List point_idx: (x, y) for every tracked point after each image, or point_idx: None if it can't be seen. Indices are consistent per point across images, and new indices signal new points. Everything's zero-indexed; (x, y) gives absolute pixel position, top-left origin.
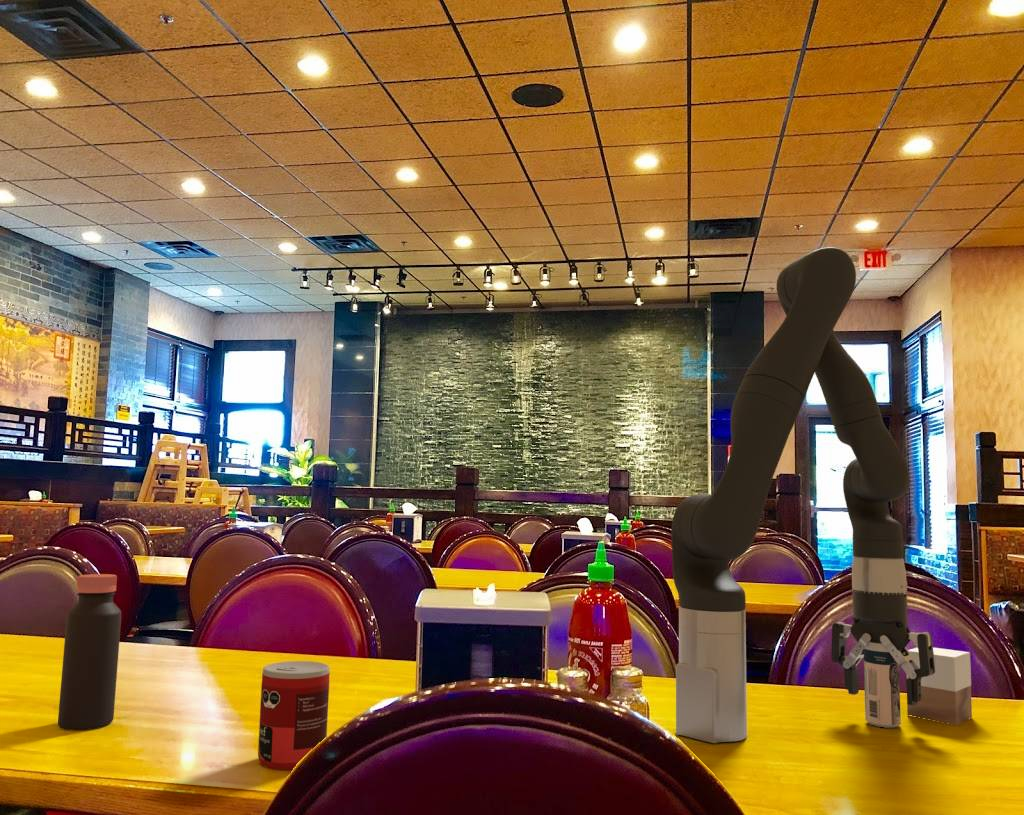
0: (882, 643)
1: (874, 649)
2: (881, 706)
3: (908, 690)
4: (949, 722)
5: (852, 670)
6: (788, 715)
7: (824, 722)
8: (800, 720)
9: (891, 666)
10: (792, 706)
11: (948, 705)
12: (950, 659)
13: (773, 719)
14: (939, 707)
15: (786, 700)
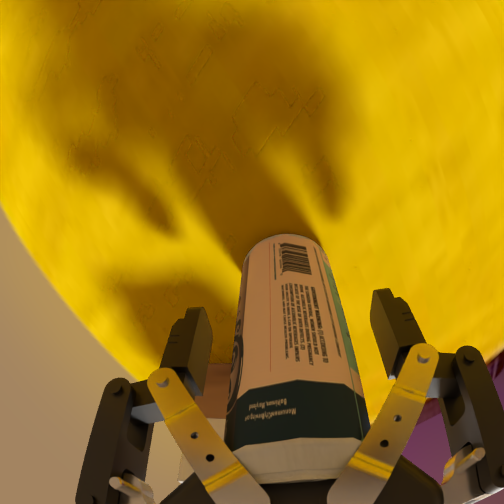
0: (256, 484)
1: (296, 445)
2: (268, 268)
3: (188, 336)
4: (210, 366)
5: (398, 348)
6: (478, 160)
7: (399, 165)
8: (445, 134)
9: (234, 397)
10: (488, 245)
11: (206, 392)
12: (186, 476)
13: (484, 92)
14: (224, 386)
15: (499, 277)
